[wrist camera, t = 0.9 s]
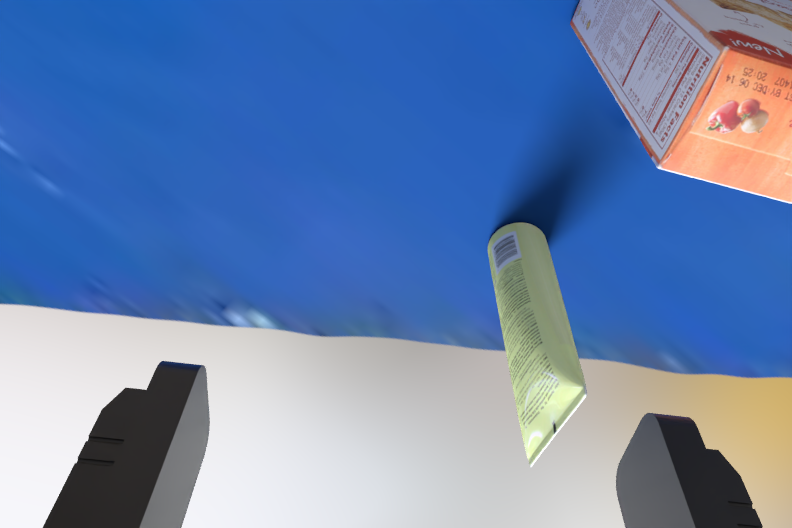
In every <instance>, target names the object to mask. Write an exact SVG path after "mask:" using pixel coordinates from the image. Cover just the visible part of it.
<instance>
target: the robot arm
mask: <svg viewBox="0 0 792 528" xmlns="http://www.w3.org/2000/svg"><path fill="white" fill-rule="evenodd" d="M209 423H210V421H209V406H208V391H207V377H206V369H205V366H203V365H194V364H184V363H175V362H167V361H162V362H160V363H159V365H158V366H157V368H156V370H155V372H154V375H153V377H152V379H151V381H150V384H149V386H148V388H147V390H142V389H133V388H125V389H124V390H123V391H122V392H121V393H120V394H118V395H117V396H116V397H115V398H114V399H113V400H112V401H111V402H110V403H109V404H108V405H107V406H105V407H104V408H103V409H102V411H101V413H100V415H99V417H98V419H97V421H96V423H95V425H94V427H93V429H92V431H91V433H90V435H89V439H88V441H86V443H85V445H84V447H83V449H82V451H81V453H80V455H79V456H78V461H77V463H76V464H75V465H74V466H73V468H72V470H71V473H70V474H69V476H68V478H67V480H66V482H65V484H64V486H63V488H62V490H61V492H60V494H59V496H58V498H57V501H56V503H55V504H54V507H53V508H52V510H51V512H50V514H49V516H48V518H47V520H46V522H45V524H44V526H43V528H181V527H182V523H183V520H184V517H185V514H186V511H187V508H188V504H189V501H190V498H191V495H192V492H193V489H194V486H195V483H196V480H197V476H198V474H199V470H200V467H201V464H202V461H203V458H204V455H205V451H206V447H207V441H208V435H209ZM616 490H617V496H618V500H619V504H620V508H621V512H622V516H623V520H624V523H625V527H626V528H762V524H761V522H760V519H759V517H758V515H757V513H756V511H755V509H753V508H752V504H753V503H752V501H751V499H750V497H749V495H748V492H747V490H746V488H745V485H744V483H743V481H742V479H741V476H740V475H739V474H738V473H737V471H736V470H735V469H734V468H733V467H732V466H731V464H730V463H729V462H728V461H727V460H726V459H725V457H724V456H723V455H722V454H721V453H720V452H719V450H712V449H706V448H705V445H704V443H703V440H702V438H701V435H700V433H699V430H698V428H697V426H696V424H695V422H694V421H693V420H692V419H691V418H688V417H681V416H671V415H662V414H653V413H647V414H646V415H645V416H644V417H643V418H642V420H641V422H640V423H639V425H638V427H637V430H636V431H635V433H634V435H633V437H632V439H631V441H630V443H629V445H628V447H627V449H626V451H625V453H624V455H623V457H622V459H621V461H620V463H619V466H618V469H617V476H616Z"/></svg>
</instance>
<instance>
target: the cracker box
mask: <svg viewBox="0 0 792 528" xmlns="http://www.w3.org/2000/svg"><path fill="white" fill-rule="evenodd" d="M570 25H571V26H572V28H573V30H574V31H575V33H576V35H577V36H578V38H579V39H580V41H581V43H582V45H583V46H584V48H585V49H586V51H587V53H588V54H589V56H590V58H591V59H592V61H593V63H594V64H595V66H596V67H597V69H598V71H599V72H600V74H601V76H602V77H603V79H604V81H605V82H606V84H607V86H608V87H609V89H610V91H611V92H612V94H613V96H614V97H615V99H616V101H617V102H618V104H619V106H620V107H621V109H622V111H623V112H624V114H625V115H626V117H627V119H628V120H629V122H630V124H631V125H632V127H633V129H634V130H635V132H636V134H637V135H638V137H639V139H640V140H641V142H642V144H643V146H644V147H645V149H646V151H647V152H648V154H649V156H650V157H651V159H652V160H653V162H654V163H655V165H656V167H657V168H658V169H662V170H666V171H669V172H673V173H677V174H681V175H684V176H688V177H692V178H696V179H700V180H704V181H707V182H711V183H715V184H719V185H723V186H726V187H730V188H734V189H737V190H741V191H745V192H749V193H753V194H756V195H760V196H764V197H768V198H771V199H775V200H779V201H783V202H787V203H790V204H792V0H580V2H579V4H578V6H577V8H576V11H575V13H574V16H573V18H572V20H571V22H570Z"/></svg>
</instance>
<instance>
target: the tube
mask: <svg viewBox="0 0 792 528" xmlns="http://www.w3.org/2000/svg"><path fill="white" fill-rule="evenodd" d="M488 255H489V261H490V267H491V273H492V278H493V284H494V289H495V295H496V301H497V306H498V311H499V317H500V322H501V328H502V333H503V338H504V344H505V349H506V354H507V359H508V365H509V370H510V375H511V381H512V386H513V391H514V396H515V401H516V407H517V412H518V417H519V422H520V427H521V432H522V436H523V441H524V445H525V450H526V454H527V458H528V460H529V464H530V467H532V466H533V464H534V463H535V462H536V460H537V459H538V458H539V456H540V455H541V454H542V452H543V451H544V450H545V448H546V447H547V446H548V445H549V443H550V442H551V441H552V439H553V438H554V437H555V435H556V434H557V433H558V431H559V430H560V429H561V428H562V426H563V425H564V424H565V423H566V421H567V420H568V419H569V418H570V416H571V415H572V414H573V413H574V411H575V410H576V409H577V408H578V407H579V405H580V404H581V403H582V401H583V400H584V399H585V397H586V396H587V390H586V384H585V381H584V376H583V373H582V369H581V366H580V362H579V358H578V354H577V351H576V347H575V343H574V340H573V336H572V332H571V328H570V324H569V320H568V317H567V313H566V310H565V306H564V302H563V298H562V295H561V291H560V287H559V284H558V280H557V276H556V273H555V269H554V266H553V262H552V258H551V254H550V251H549V247H548V244H547V240H546V237H545V235H544V234H543V232H542V231H541V230H540V229H539V228H537V227H536V226H534V225H532V224H529V223H522V222H519V223H512V224H509V225H506V226H503V227H502V228H500V229H499V230H497V231H496V232H495V233H494V234H493V236H492V237H491V239H490V241H489V244H488Z"/></svg>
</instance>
